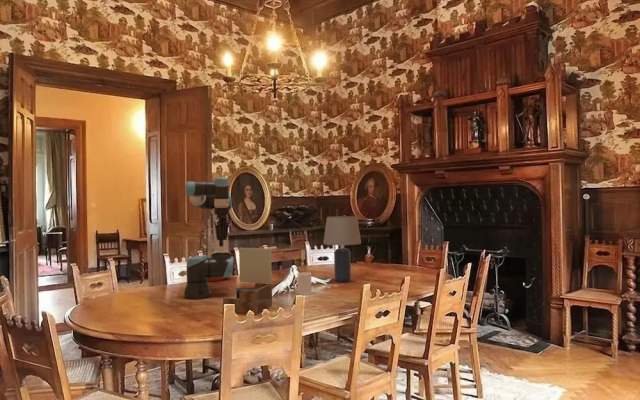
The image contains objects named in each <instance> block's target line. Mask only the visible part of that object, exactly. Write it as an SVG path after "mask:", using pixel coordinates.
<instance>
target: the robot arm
mask: <svg viewBox="0 0 640 400" xmlns="http://www.w3.org/2000/svg"><path fill="white" fill-rule="evenodd" d="M229 185H230V181H229V178H228V177H226V176H225V177H223V176H222V177H221V176H220V177H214V179H213V181H193V180H192V181H186V182H185V195H186V196H188V197H189V198H188V199H189V202H190V204H191V205H192V206H194V207H196V208H198V209H203V210H210V213H211V214H212V226H213V227H212V228H213V229H212V230H213V231H212V233H213V252H212V253H211V254H210V257H208V255H206V254H204V255H202V254H201V255H195V256H191V257H189V258H187V260H186V285H185V286H186V287H185V288H184V292H183V298H184V299H185V300H186V299H188V300H200V299H208V298H210V297H212V291H211V289H210V285H209V281H208V278H219V277H223V278H224V277H225V278H229V277H232V276H233V270H234V262H235V261H234V260H235V257H234V256H232V253H231V252H230V251H229V224H230V219H228V216H229V215H230V211H231V210H232V209H233V202H232V195H231V192H230V186H229ZM225 278H224V279H225Z"/></svg>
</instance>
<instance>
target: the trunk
mask: <svg viewBox="0 0 640 400" xmlns="http://www.w3.org/2000/svg"><path fill="white" fill-rule="evenodd" d="M254 287H256V288H257V290H239V299H237V298H236V297H235V298H234V297H232V298H231V297H222V306H223V305H224V304H235V312H236V313H235V314H244V315H247V314H246V313H247V312H248V311H249V310H251V311H253V312H254V313H255V314H256V315H259V314H260V313H262V312H263V311H262V310H263V309H266V310H267V309H269V308H271V307H272V306H273V283H254ZM255 314H254V315H255ZM256 315H255V316H256Z"/></svg>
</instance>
